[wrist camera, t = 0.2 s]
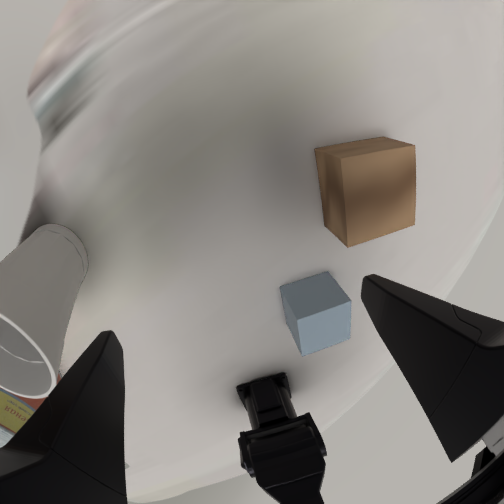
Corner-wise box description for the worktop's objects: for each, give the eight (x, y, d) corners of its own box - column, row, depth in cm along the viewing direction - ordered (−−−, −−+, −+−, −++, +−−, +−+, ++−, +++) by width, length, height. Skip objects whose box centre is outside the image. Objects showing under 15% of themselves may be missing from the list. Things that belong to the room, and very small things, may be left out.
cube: (329, 307, 30) (350, 338, 26) (286, 322, 30) (302, 356, 26) (327, 270, 28) (351, 300, 23) (279, 286, 27) (297, 320, 23)
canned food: (61, 402, 30) (49, 473, 19) (-4, 372, 25) (-27, 438, 15) (66, 359, 26) (45, 448, 16) (-12, 321, 22) (-50, 397, 11)
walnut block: (385, 206, 26) (414, 224, 22) (323, 224, 25) (347, 247, 21) (382, 136, 22) (415, 145, 18) (313, 148, 22) (340, 158, 18)
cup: (9, 230, 18) (-65, 313, 8) (75, 201, 19) (-1, 287, 9) (46, 301, 22) (4, 399, 12) (110, 283, 23) (81, 396, 13)
